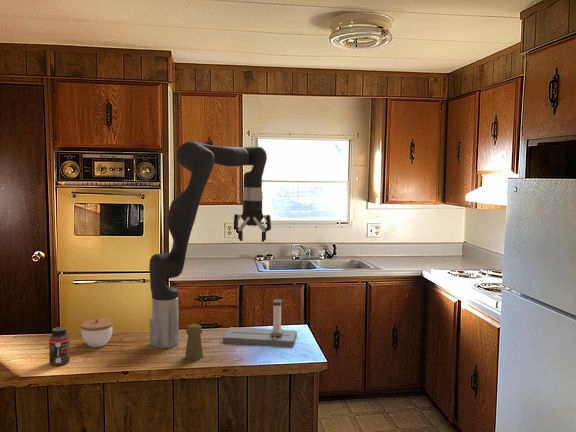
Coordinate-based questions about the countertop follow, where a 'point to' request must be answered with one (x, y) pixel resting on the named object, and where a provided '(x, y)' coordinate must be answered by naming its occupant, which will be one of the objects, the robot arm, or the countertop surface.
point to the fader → (277, 318)
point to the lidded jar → (96, 332)
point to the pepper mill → (194, 342)
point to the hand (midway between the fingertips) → (252, 241)
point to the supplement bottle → (59, 347)
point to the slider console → (259, 337)
